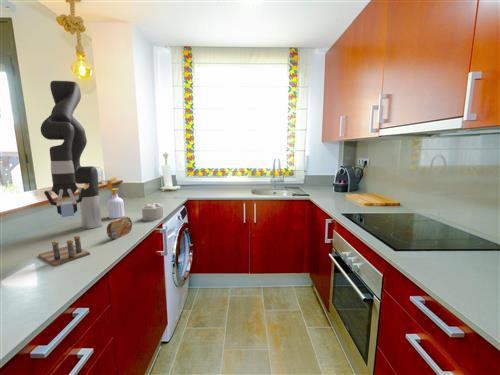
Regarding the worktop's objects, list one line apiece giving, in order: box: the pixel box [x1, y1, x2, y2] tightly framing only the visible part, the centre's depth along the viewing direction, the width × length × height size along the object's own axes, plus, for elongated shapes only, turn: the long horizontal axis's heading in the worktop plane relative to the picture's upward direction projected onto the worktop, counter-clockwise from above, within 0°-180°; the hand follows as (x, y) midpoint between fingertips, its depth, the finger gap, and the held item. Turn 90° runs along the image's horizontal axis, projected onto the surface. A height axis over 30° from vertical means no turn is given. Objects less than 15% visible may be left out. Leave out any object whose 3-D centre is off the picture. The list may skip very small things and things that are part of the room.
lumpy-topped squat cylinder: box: [141, 202, 164, 222], centre depth 155 cm, size 10×13×9 cm
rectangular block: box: [60, 201, 75, 218], centre depth 103 cm, size 4×9×4 cm, turn 36°
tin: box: [106, 216, 133, 240], centre depth 123 cm, size 15×3×8 cm, turn 168°
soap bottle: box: [106, 177, 126, 219], centre depth 157 cm, size 9×9×25 cm
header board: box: [38, 235, 91, 267], centre depth 101 cm, size 16×12×8 cm
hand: (68, 213), depth 104 cm, fingers closed on rectangular block, 4 cm apart
